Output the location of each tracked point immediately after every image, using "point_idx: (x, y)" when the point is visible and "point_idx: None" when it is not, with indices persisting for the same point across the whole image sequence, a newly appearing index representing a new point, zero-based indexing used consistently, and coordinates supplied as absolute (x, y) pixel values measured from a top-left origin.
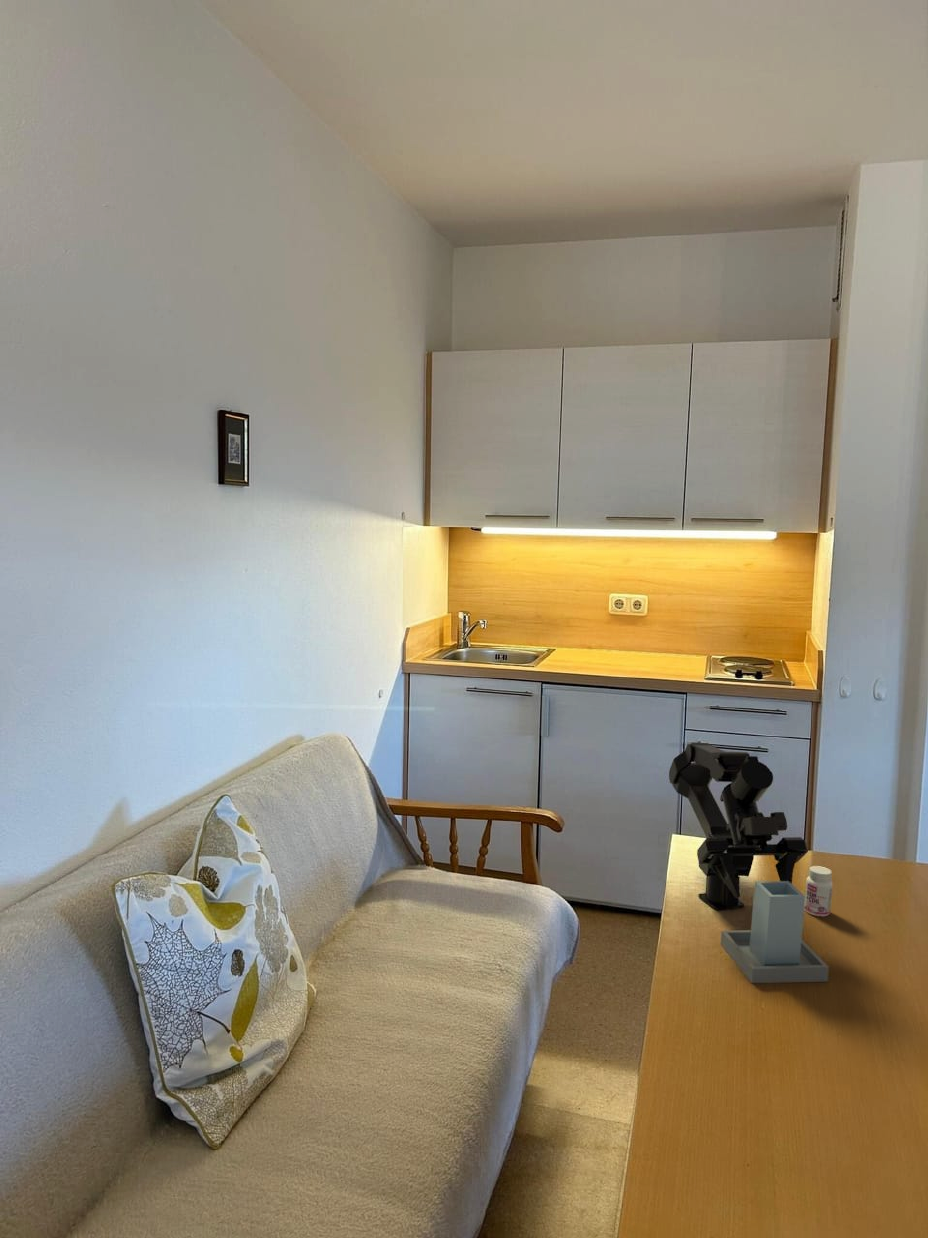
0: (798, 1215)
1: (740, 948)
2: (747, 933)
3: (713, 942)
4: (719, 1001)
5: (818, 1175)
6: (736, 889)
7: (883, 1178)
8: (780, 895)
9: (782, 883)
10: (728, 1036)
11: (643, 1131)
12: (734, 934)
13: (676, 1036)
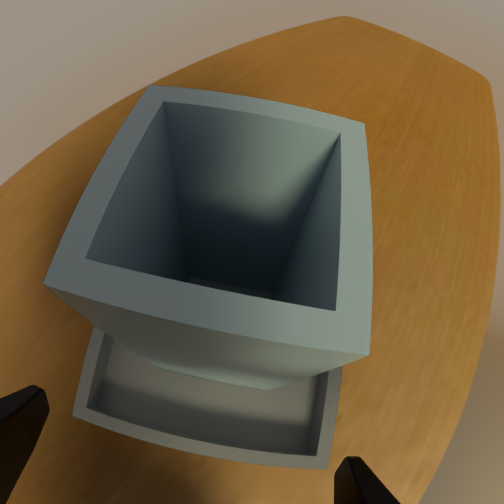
0: (410, 41)
1: (287, 406)
2: (240, 447)
3: (327, 474)
4: (421, 222)
5: (390, 42)
6: (375, 479)
7: (346, 27)
8: (293, 114)
9: (118, 269)
10: (426, 152)
11: (493, 109)
12: (287, 453)
13: (481, 177)
